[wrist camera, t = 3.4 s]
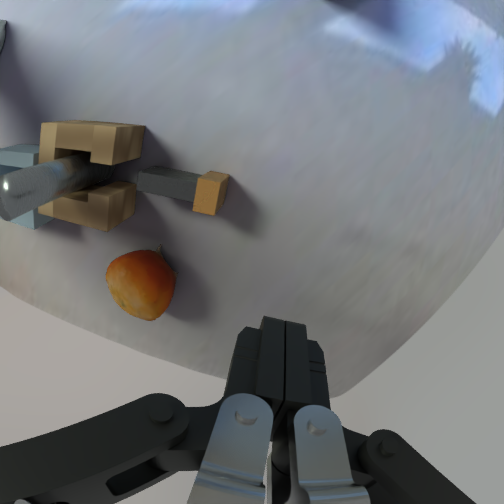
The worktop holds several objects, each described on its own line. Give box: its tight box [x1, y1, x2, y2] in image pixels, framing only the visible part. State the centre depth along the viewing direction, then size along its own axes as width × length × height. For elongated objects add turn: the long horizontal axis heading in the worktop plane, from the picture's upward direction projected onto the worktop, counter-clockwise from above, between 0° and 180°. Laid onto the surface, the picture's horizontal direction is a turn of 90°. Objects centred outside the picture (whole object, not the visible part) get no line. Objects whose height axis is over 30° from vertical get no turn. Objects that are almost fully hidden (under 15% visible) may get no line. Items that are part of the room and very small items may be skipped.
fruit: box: [106, 244, 179, 321], centre depth 31 cm, size 8×8×8 cm
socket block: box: [38, 120, 145, 232], centre depth 27 cm, size 10×10×6 cm
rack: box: [0, 144, 55, 230], centre depth 28 cm, size 9×9×6 cm
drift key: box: [136, 166, 229, 216], centre depth 27 cm, size 3×8×5 cm, turn 77°
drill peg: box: [0, 152, 115, 221], centre depth 22 cm, size 4×4×15 cm
